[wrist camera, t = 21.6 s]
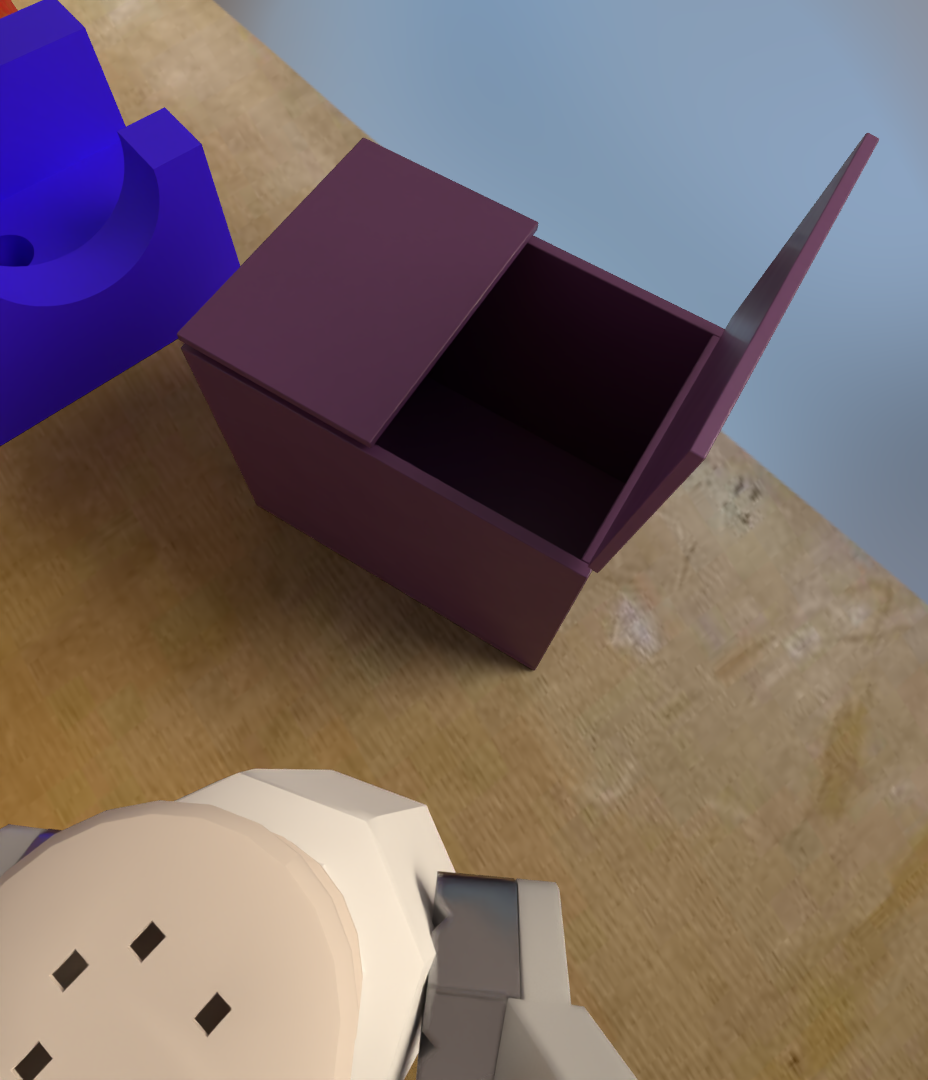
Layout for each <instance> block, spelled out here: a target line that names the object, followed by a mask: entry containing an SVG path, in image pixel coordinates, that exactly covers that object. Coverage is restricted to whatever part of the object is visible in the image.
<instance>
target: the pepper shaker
mask: <svg viewBox="0 0 928 1080" xmlns="http://www.w3.org/2000/svg"><path fill="white" fill-rule="evenodd" d="M437 871H442V872H452V873H456V872H455V870H454V868H453V865H452V863H451V861H450V858H449V856H448V854H447V852H446V849H445V847H444V845H443V842H442V840H441V838H440V836H439V833H438V831H437V829H436V826H435V824H434V822H433V819H432V817H431V815H430V813H429V810H428V808H427V806H426V805H424V804H422V803H419V802H416V801H414V800H411V799H408V798H406V797H403V796H400V795H398V794H395V793H392V792H390V791H387V790H384V789H382V788H379V787H376V786H374V785H371V784H368V783H366V782H363V781H360V780H358V779H355V778H352V777H350V776H347V775H344V774H342V773H339V772H336V771H334V770H303V769H252V770H248V771H244V772H240V773H237V774H234V775H232V776H229V777H227V778H224V779H222V780H219V781H217V782H215V783H212V784H210V785H208V786H206V787H204V788H202V789H199V790H197V791H195V792H193V793H191V794H189V795H187V796H184V797H182V798H180V799H178V800H176V801H174V802H173V801H160V800H159V801H154V802H149V803H143V804H138V805H133V806H127V807H122V808H117V809H111V810H106V811H104V812H102V813H100V814H98V815H95V816H93V817H91V818H89V819H87V820H84V821H82V822H80V823H78V824H76V825H74V826H71V827H69V828H67V829H65V830H63V831H60V832H58V833H56V834H54V835H53V836H51V837H50V838H49V839H47V840H46V841H45V842H44V843H42V844H41V845H40V846H38V847H37V848H36V849H34V850H33V851H32V852H31V853H29V854H28V855H27V856H25V857H24V858H23V859H21V860H20V861H19V862H17V863H16V864H15V865H14V866H12V867H11V868H10V869H8V870H7V871H6V872H5V873H4V874H3V875H2V876H1V877H0V1080H404V1078H405V1076H406V1075H407V1073H408V1071H409V1069H410V1067H411V1065H412V1064H413V1062H414V1060H415V1058H416V1056H417V1054H418V1052H419V1042H420V1032H421V1023H422V1013H423V1004H424V1001H425V991H426V985H427V979H428V973H429V970H430V967H431V965H432V962H433V960H434V957H435V954H436V951H435V948H434V945H433V942H432V931H433V930H434V929H435V928H434V925H433V923H432V916H433V904H434V894H435V886H436V878H437Z"/></svg>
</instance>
